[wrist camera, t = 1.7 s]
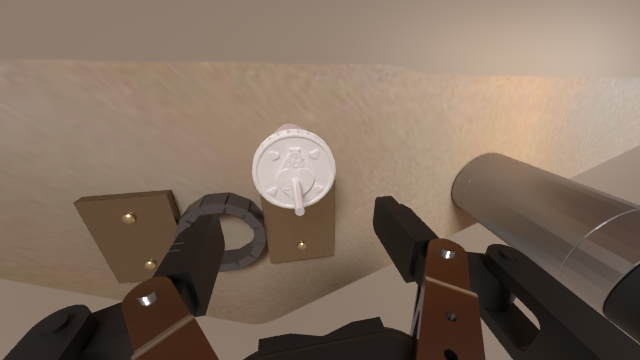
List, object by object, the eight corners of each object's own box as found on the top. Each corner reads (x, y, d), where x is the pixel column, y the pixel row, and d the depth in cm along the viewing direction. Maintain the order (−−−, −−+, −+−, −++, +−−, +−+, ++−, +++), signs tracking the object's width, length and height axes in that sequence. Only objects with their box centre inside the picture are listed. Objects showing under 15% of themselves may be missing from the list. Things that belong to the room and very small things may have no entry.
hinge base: (332, 176, 28) (337, 185, 26) (332, 249, 34) (335, 261, 31) (82, 197, 25) (62, 209, 22) (125, 275, 30) (112, 292, 28)
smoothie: (263, 167, 26) (249, 251, 14) (258, 110, 24) (234, 152, 11) (317, 165, 27) (349, 241, 15) (318, 110, 25) (357, 148, 12)
